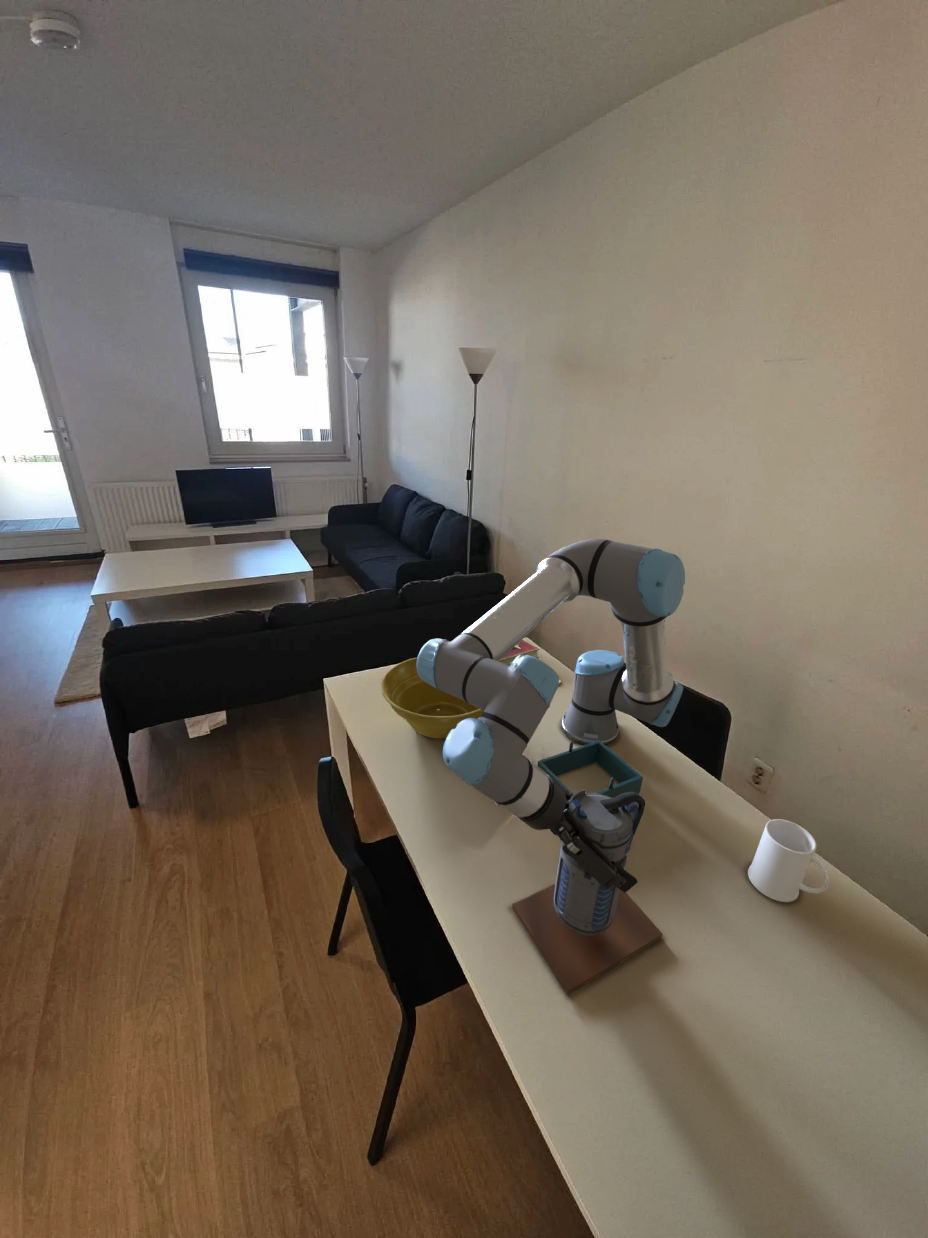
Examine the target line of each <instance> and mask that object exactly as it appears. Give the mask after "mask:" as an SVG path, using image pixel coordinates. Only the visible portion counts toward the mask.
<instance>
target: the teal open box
mask: <svg viewBox="0 0 928 1238" xmlns="http://www.w3.org/2000/svg"><path fill="white" fill-rule="evenodd" d="M595 763H596V764H597V765H598V766H599V767H601V769H603V770H604V771H605V772H606V773H607V774H608V775H609V776H611V777H610V780H609V786H608V787H606V788H604V789H601V790H599V791H596V792H595V793H596V794H602V795H605V796H608V797H611V798H615V797H617V796H618V795H620V794H622V793H627V792H635V793H637V794H639V795H641V790H642V785H643V781H644V776H643V775H642V774H640V773H639V772H638V771H637V770H635V769H634V767H632V766H631V765H630V764H629V763H627V762H626V761H625V760H623V759H622V758H621V757H620V756H619V755H617V754H616V753H615V752H614V751H613V750H612V749H610V748H609V747H608V745H607V746H605V745H604V744H603V743H602V742H601V741H596V742H593V743H590V744H587V745H580V746H579V747H576V748H574V741H573V740H571V741H570V742H569V747H568V750H567V751H563V752H560V753H557V754H555V755H552V756H549V757H546V758H543V759H540V760H537V764H536V765H537V766H538V767H539V768H541V769H542V770H543V771H544V772H545V773H546V774H548V775H549V776H550V777H551V778H553V779H554V780H555V781H557V782H558V783H559V784H560V785H561V786H562V787H563V789H565V790H567V791H568V792H570V793H572V795H574V794H575V793H574V792H572V791H571V790H570V788H568V786H567V785H565V783H563V781H561V779H560V778H558V777H559V776H562V775H565V774H567V773H570V772H573V771H575V770H578V769H581V768H583V767H586V766H589V765H592V764H595ZM615 781H616V782H617V784H615Z"/></svg>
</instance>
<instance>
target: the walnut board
mask: <svg viewBox="0 0 928 1238" xmlns="http://www.w3.org/2000/svg"><path fill="white" fill-rule="evenodd" d="M555 884H556V883H554V884H552V885H549V886H548V887H545V888H544V889H541V890H539V891H537V892H534V893H532V894H530V895H528V896H526V897H524V898H522V899H520V900H518V901H515V902H514V903H512V905H511V909H512V911H513V912H514V914H515V915H516V917H517V918H518V920H519V922H520V923H521V925H522V926H523V928H524V929H525V931H526V933H527V935H528V937H530V939H531V941H532V942H533V943H534V945H535V947H536V948H537V950H538V952H539V953H540V954H541V957H543V959H544V960H545V962H546V963H547V966H548V967H549V969H550V970H551V971H552V973H553V974H554V977H556V979H557V981H558V982H559V984H560V985H561V987H562V989H563V990H564V992H565V993H566V995H567V996H569V995H571V994H573V993H574V992H576V991H577V990H579V989H581V988H583V987H585V986H586V985H588V984H590V983H591V982H593V981H595V980H596V979H598V978H599V977H601V976H603V975H604V974H606V973H608V972H610V971H611V970H613V969H614V968H616V967H617V966H619V965H621V964H622V963H624V962H626V961H628V960H629V959H631V958H633V957H634V956H636V955H638V954H639V953H641V952H642V951H644V950H646V949H648V948H649V947H651V946H652V945H655V944H656V943H657V942H659V941H661V940H662V939H663V936H664V934H663V933H662V931H661V930H660V929H659V928H658V927H657V926H656V924H655V923H654V922H653V921H652V920H651V919H650V918H649V917H648V916H647V915H646V913H645V912H644V911H643V910H642V908H640V906H638V904H637V903H636V902H635V901H634V900H633V898H631V897H630V895H629V894H628V893H627V892H626V893H624V892H623V891H622V890H620V893H619V897H618V902H617V907H616V911H615V916H614V920H613V922H612V925H611V926H610V927H609V928H608V929H607V930H606V931H604V932H602V933H600V934H597V935H594V936H585V935H580V934H578V933H576V932H575V931H574V932H573V931H572V930H570V929H569V928H568V927H566V926H565V925H564V924H563V922H562V921H561V920H560V918H559V917H558V915H557V913H556V911H555V908H554V903H553V900H554V891H555Z"/></svg>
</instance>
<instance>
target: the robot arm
mask: <svg viewBox="0 0 928 1238" xmlns="http://www.w3.org/2000/svg"><path fill="white" fill-rule="evenodd" d="M685 583H686V570H685V566H684V563H683V561H682V559H681V558H680V557H679V556H678V555H677V554H675V553H673V552H668V551H665V550H663V549H659V548H652V547H646V546H641V545H635V544H630V543H625V542H620V541H614V540H610V539H605V538H589V539H584V540H580V541H577V542H574V543H571V544H569V545H566V546H563V547H561V548H560V549H557V550H556V551H554V552H552V553H551V554H549V555H548V556H546V557H545V558H544V559H542V560H541V562H539V564H538V565H537V567H536V570H535V573H534V574H532V575H531V576H530V577H529V578H527V580H525V581H524V582H522V584H520V585H519V586H518V587H517V588H516V589H514V590H513V591H512V592H511V593H509V594H508V595H507V596H505V598H503V599H502V600H501V601H500V602H497V604H496V605H495V606H493V607H492V608H491V609H490V610H488V611H487V612H486V613H485V614H483V615H482V616H481V617H480V618H479V619H477V620H476V621H475V622H473V624H471V625H470V626H468V627H467V628H466V629H465V630H463V632H461V633H460V634H459V635H458V636H456V637H455V638H454V639H453V640H451V641H449V640H448V639H445V638H444V639H443V638H432V639H429V640H427V642H426V643H424V644H423V646H422V647H421V648H420V650H419V653H418V655H417V657H418V658H417V663H416V667H417V672H418V675H419V677H420V678H421V679H422V680H423V681H425V682H426V683H428V684H430V685H431V686H433V687H435V688H436V689H437V690H442V691H444V692H446V693H448V694H450V695H452V696H455V697H457V698H459V699H461V700H463V701H465V702H467V703H469V704H471V705H473V706H475V707H478V708H480V709H482V710H484V712H483V713H482V715H481V717H479V718H478V719H476V718H467V719H464V720H462V721H461V722H459V723H458V724H457V727H456V728H455V729H452V730H451V731H450V733H449V734H448V736H447V738H445V741H444V742H443V746H442V758H443V761H444V763H445V765H446V767H447V768H448V769H450V771H452V772H453V773H455V774H456V775H457V776H458V777H459V778H461V780H462V781H464V782H465V783H466V784H468V785H470V786H471V787H473V788H474V789H475V790H477V791H479V792H480V793H481V794H483V795H484V796H486V797H487V798H489V799H490V800H491V801H493V802H494V804H495V806H496V807H500V806H501V807H502V809H503V808H504V809H505V810H506V811H508V813H511V815H513V816H514V817H516V818H517V819H518V820H520V821H521V822H523V824H525V825H527V826H528V827H529V828H531V829H533V830H537V831H545V830H549V831H550V832H551V833H552V834H553V835H554V836H556V837H558V838H559V839H560V840H561V842H562V841H563V842H564V844H565V845H564V846H563V847H562V849H563V851H564V853H566V854H567V855H568V856H570V857H572V858H573V859H574V860H575V861H576V862H578V863H579V864H580V865H581V866H582V867H583V868H584V869H585V870H586V871H587V872H588V873H589V874H590V875H591V876H593V877H594V878H595V879H596V880H597V881H598V883H599V884H601V885H602V886H603V887H604V888H605V889H607V890H608V889H610V888H611V887H612V886H613V885H614V886H616V887H617V888H619V889H620V890H622V891H623V892H624V893H627V892H628V891H630V890H631V889H632V888H633V887H634V886H636V885H637V884H638V883H639V881H638V879H637V877H635V876H634V875H633V874H632V873H630V872H629V871H627V870H626V868H625V869H623V868H622V867H621V866H619V865H618V864H617V863H615V862H614V861H612V862H610V861H609V860H608V859H607V857H606V856H605V855H604V854H603V853H601V852H600V851H599V850H598V849H597V848H596V847H595V846H594V845H593V844H592V843H591V841H590V840H589V839H588V838H587V837H586V836H585V830H584V829H583V827H582V826H581V825H580V823H579V822H578V821H577V820H576V819H575V818H574V815H573V813H572V812H571V811H570V810H569V809H568V808H567V806H568V805H569V800H570V798H571V797H572V793H573V792H572V793H570V792H568V791H567V790H565V789H563V787H562V786H561V785H560V784H559V783H558V782H557V781H555V780H554V779H553V778H551V777H550V776H549V775H548V774H546V773H545V772H544V771H543V770H542V769H541V768H539V767H538V766H537V765H538V764H535V762H534V761H532V760H530V758H529V757H526V756H525V755H524V752H525V750H526V749H527V746H528V745H529V742H530V741H531V739H532V737H533V735H534V734H535V733H536V731H537V728H538V727H539V725H540V723H541V722H542V719H544V716H545V715H546V712H547V711H548V709H550V707H551V703H552V701H553V699H554V696H555V695H556V693H557V690H558V688H559V686H560V684H559V680H560V678H559V676H558V674H557V672H556V671H555V669H553V667H551V666H550V665H549V664H547V663H546V662H545V661H543V660H541V659H540V658H539V659H537V658H535V657H532V656H529V655H526V656H525V655H519V656H517V657H516V658H515V659H514V661H513V662H511V664H510V666H508V665H506V664H503V663H500V662H498V661H499V660H500V659H502V658H503V657H504V656H505V655H506V654H507V653H508V652H509V651H510V650H511V649H512V648H513V647H515V646H516V645H517V644H518V643H519V642H520V641H521V640H522V639H523V640H524V638H526V636H528V635H529V634H530V633H531V632H532V631H533V630H535V628H537V626H538V625H540V624H541V623H542V622H543V621H544V620H545V619H546V618H547V617H549V616H550V614H551V613H553V612H554V611H555V610H556V609H557V608H558V607H559V606H560V605H562V603H569V602H571V601H573V600H574V599H576V598H577V596H578V597H579V596H583V597H584V596H586V597H591V598H593V599H597V600H600V601H604V602H607V603H610V608H611V612H612V613H611V614H613V616H614V618H615V619H616V620H617V621H619V622H620V627H621V633H622V642H623V650H624V651H623V652H624V657H623V656H622V655H621V654H620V653H618V652H615V651H612V650H606V649H595V650H589V651H586V652H584V653H582V654H581V655H580V656H579V657H578V658H577V660H576V664H575V665H576V666H575V669H574V676H573V677H574V679H573V686H572V694H571V702H570V703H569V705H568V706H567V709H566V711H565V713H564V714H563V716H562V718H561V724H560V725H561V726H560V727H561V730H562V732H563V735H565V736H566V737H567V738H569V739H570V740H571V741H572V742H574V743H577V744H579V745H581V746H584V745H587V744H590V743H593V742H596V741H601V742H602V743H603V744H604V745H605V746H607V747H608V746H609V745H612V744H614V743H615V742H616V741H617V739H618V736H619V731H620V727H619V724H618V718H617V713H616V711H618V712H620V713H623V714H626V715H627V716H630V717H633V718H635V719H637V720H641V721H642V722H646V723H648V725H650V726H652V725H653V726H656V727H659V728H664V727H667V726H668V724H669V723H670V722H671V719H672V717H673V715H674V714H675V711H676V709H677V707H678V704H679V702H680V700H681V697H682V695H683V692H684V686H683V684H681V683H679V682H678V681H674V677H673V675H672V672H671V670H669V668H667V654H666V653H667V651H666V649H667V647H666V619H667V618H668V617H670V616H672V615H673V614H674V613H675V612H676V611H677V609H678V608H679V606H680V604H681V601H682V598H683V595H684V586H685ZM576 828H577V829H578V831H576V832H575V833H574V834H573V835H572V836H571V833H572V832H573V831H574V830H575V829H576Z"/></svg>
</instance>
